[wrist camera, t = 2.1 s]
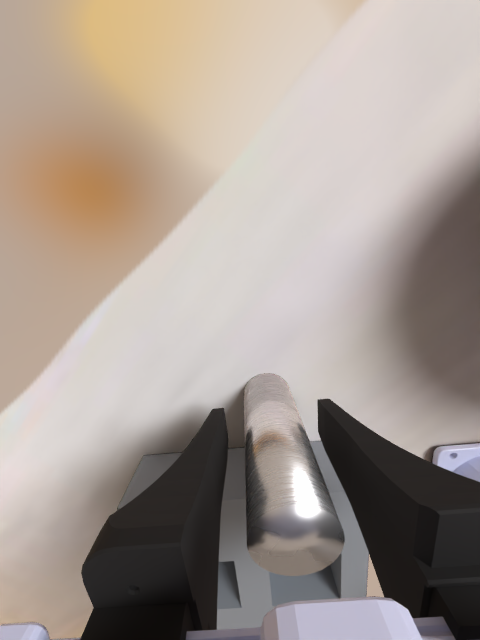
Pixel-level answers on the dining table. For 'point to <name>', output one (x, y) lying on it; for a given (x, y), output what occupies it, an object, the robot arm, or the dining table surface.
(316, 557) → the pin
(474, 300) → the dining table surface
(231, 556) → the hole block
